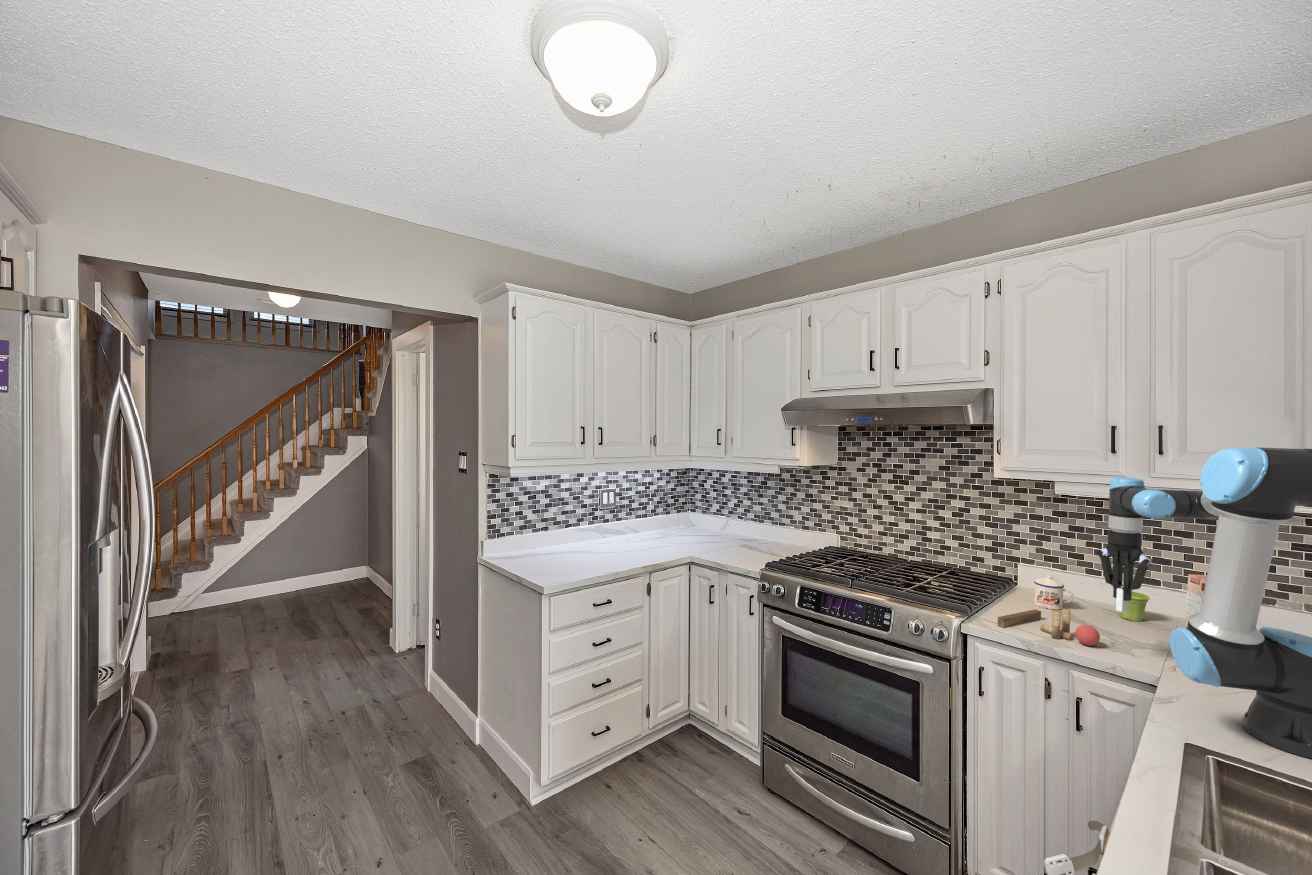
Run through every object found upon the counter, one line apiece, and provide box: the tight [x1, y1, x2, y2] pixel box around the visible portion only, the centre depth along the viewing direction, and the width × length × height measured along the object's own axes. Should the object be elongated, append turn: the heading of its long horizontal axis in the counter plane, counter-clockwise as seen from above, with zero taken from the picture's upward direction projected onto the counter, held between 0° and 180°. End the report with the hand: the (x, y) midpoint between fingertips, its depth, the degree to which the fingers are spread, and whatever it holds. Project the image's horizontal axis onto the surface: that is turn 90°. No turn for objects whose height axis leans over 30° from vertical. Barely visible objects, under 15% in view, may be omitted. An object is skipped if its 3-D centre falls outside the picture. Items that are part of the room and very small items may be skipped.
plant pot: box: [1118, 590, 1151, 622], centre depth 190 cm, size 9×9×9 cm
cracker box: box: [1184, 574, 1207, 628], centre depth 170 cm, size 14×6×21 cm, turn 82°
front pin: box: [1039, 623, 1073, 641], centre depth 175 cm, size 2×2×8 cm
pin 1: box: [1051, 610, 1062, 640], centre depth 172 cm, size 2×2×8 cm
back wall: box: [996, 609, 1042, 629], centre depth 185 cm, size 2×20×3 cm, turn 114°
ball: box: [1074, 624, 1101, 647], centre depth 167 cm, size 6×6×6 cm
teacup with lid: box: [1033, 574, 1074, 611], centre depth 201 cm, size 12×9×12 cm
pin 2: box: [1060, 608, 1071, 633], centre depth 174 cm, size 2×2×8 cm
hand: (1121, 610), depth 158 cm, fingers closed
